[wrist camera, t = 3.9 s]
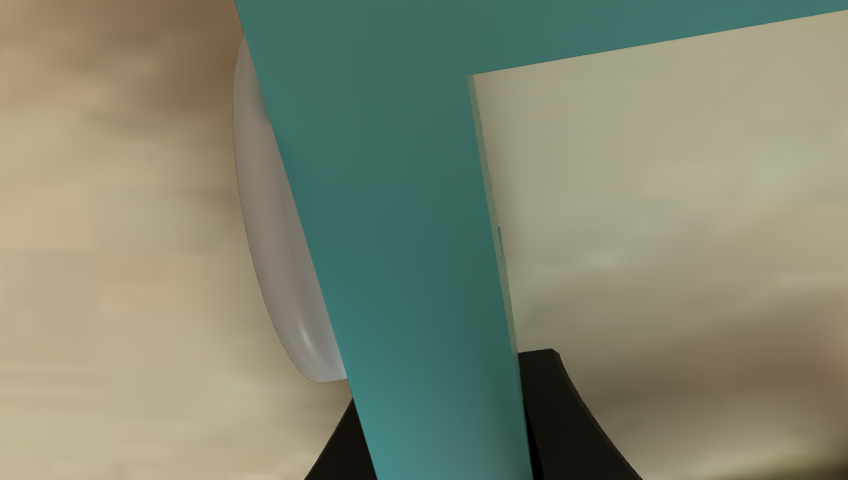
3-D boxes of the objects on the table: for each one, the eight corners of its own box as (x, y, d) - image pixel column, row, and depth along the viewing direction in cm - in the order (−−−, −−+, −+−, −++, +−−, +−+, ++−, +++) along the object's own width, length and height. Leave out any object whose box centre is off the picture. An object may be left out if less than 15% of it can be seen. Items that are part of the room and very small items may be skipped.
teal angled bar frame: (460, 617, 19) (465, 886, 14) (280, -78, 11) (167, 15, 7) (913, 574, 18) (1078, 851, 13) (1055, -234, 10) (1568, -252, 6)
